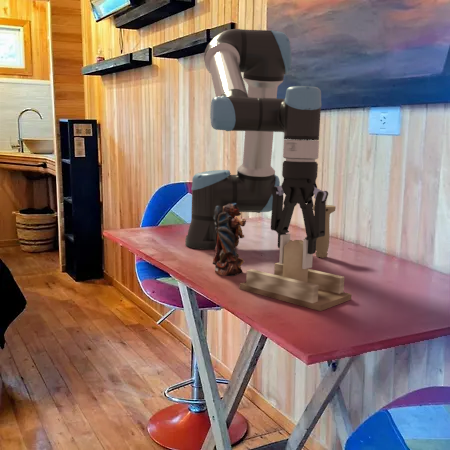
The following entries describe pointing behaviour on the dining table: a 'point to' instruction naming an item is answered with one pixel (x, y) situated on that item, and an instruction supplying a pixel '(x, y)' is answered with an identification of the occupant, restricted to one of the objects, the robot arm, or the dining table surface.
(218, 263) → the figurine
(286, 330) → the dining table surface
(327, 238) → the handle
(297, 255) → the candle
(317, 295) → the rack
